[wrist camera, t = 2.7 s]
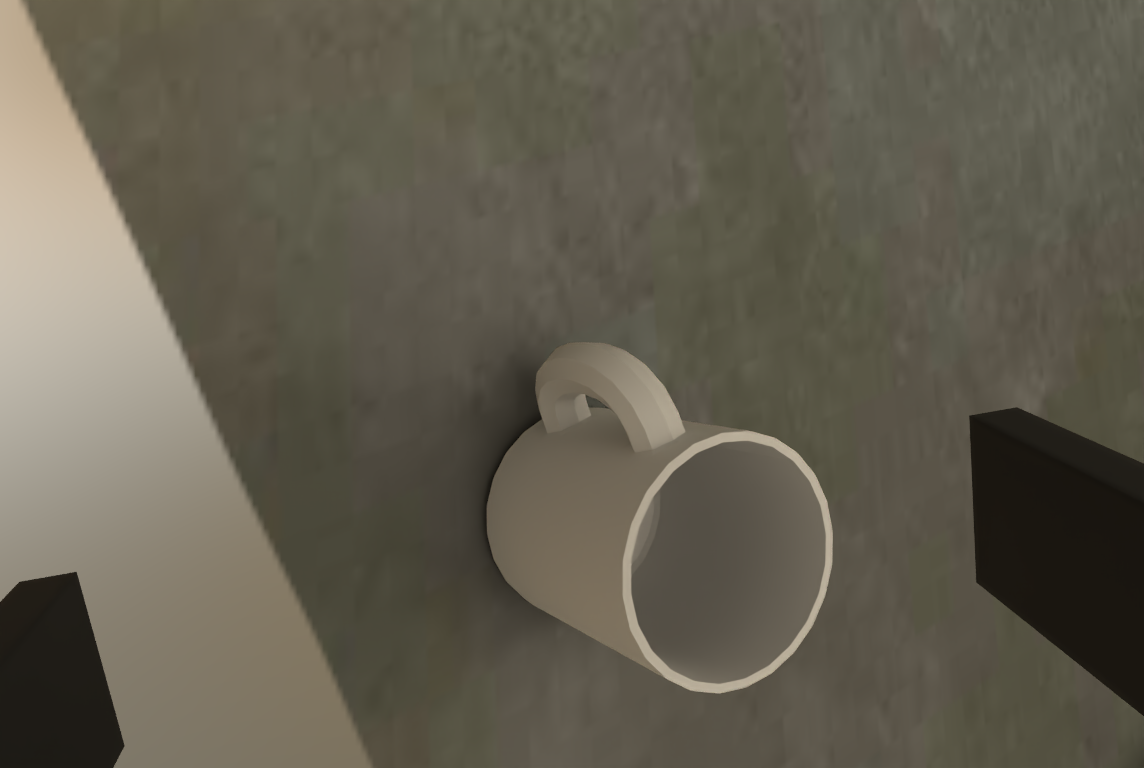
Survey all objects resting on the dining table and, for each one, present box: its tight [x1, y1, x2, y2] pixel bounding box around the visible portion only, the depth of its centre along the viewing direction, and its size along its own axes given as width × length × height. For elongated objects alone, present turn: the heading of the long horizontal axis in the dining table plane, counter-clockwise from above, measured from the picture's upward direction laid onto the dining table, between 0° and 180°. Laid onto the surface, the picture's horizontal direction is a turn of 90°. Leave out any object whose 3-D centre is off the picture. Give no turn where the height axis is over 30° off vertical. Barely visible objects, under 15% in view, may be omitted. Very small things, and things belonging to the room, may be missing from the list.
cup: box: [487, 342, 833, 694], centre depth 31 cm, size 7×10×9 cm
